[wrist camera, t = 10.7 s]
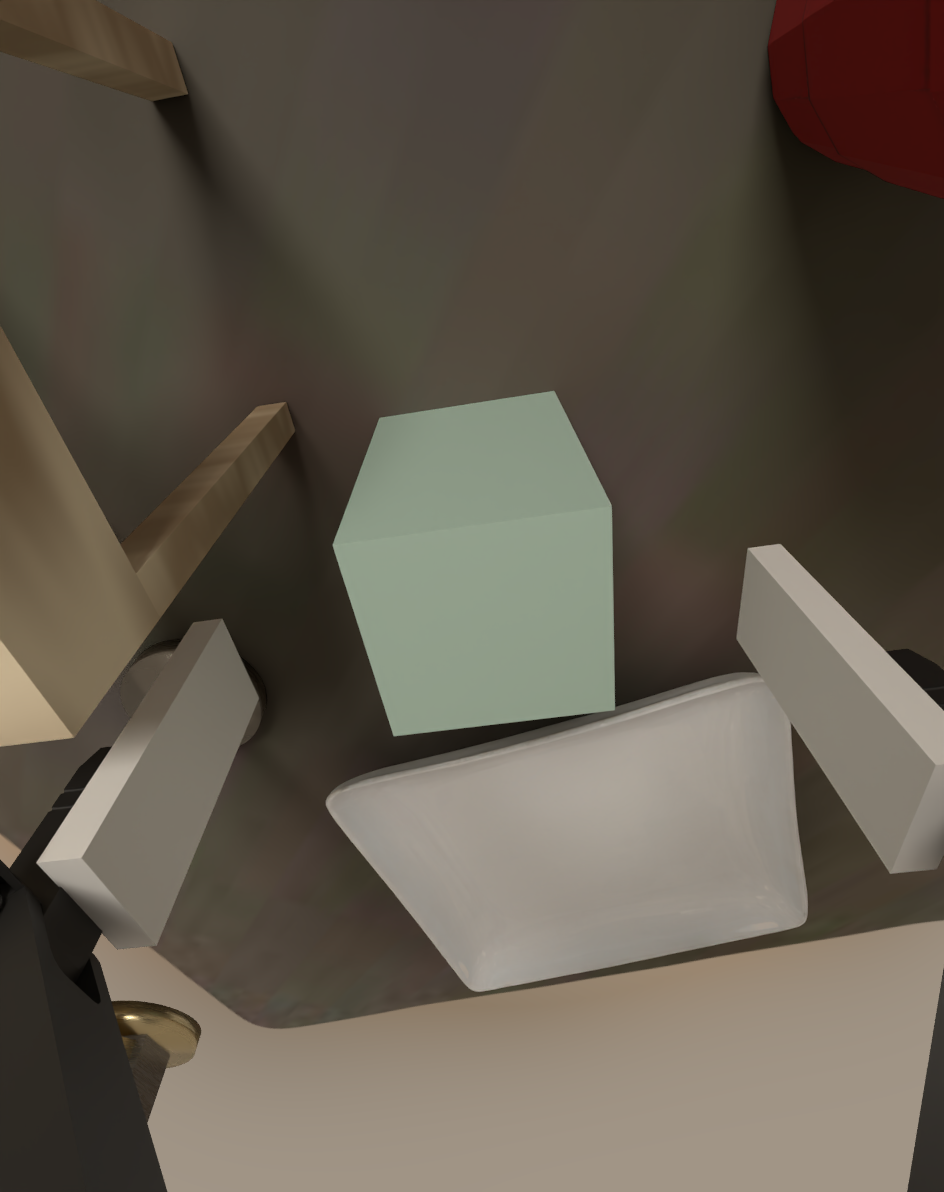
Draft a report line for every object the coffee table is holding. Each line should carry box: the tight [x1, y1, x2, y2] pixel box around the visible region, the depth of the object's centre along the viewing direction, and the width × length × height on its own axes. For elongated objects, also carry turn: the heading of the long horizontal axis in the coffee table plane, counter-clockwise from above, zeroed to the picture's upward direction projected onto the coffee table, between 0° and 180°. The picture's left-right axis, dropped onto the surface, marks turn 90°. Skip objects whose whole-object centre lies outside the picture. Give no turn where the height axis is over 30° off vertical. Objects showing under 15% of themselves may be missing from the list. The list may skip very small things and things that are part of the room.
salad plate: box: [326, 672, 808, 992], centre depth 32 cm, size 21×21×3 cm
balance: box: [111, 639, 267, 1122], centre depth 21 cm, size 15×6×15 cm, turn 8°
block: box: [333, 391, 615, 736], centre depth 18 cm, size 6×6×9 cm
